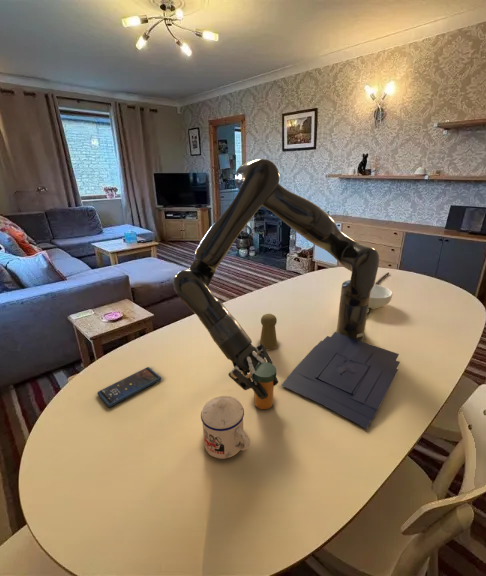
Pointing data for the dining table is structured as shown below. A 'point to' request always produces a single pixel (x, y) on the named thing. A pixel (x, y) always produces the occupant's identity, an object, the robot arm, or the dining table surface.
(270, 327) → the brown rounded tall piece
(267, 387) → the jar
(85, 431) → the dining table surface
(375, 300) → the cereal bowl
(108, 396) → the smartphone
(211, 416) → the teacup with lid
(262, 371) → the lid
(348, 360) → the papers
